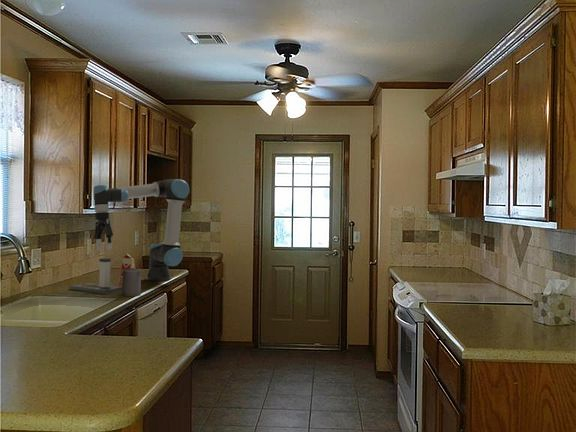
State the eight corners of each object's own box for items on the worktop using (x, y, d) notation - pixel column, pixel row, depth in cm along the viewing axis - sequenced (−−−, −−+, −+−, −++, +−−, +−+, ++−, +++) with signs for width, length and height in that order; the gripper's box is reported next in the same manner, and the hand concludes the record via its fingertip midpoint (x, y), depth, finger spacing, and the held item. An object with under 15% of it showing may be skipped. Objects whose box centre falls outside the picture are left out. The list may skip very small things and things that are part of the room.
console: (69, 289, 317) (69, 285, 317) (88, 286, 330) (88, 282, 330) (104, 294, 306) (104, 290, 306) (122, 290, 319) (122, 286, 319)
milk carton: (132, 287, 330) (133, 253, 329) (117, 287, 330) (117, 253, 329) (137, 285, 339) (138, 252, 338) (122, 284, 339) (122, 251, 338)
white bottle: (98, 286, 314) (99, 258, 314) (104, 285, 318) (104, 258, 318) (104, 287, 313) (105, 259, 312) (110, 286, 316) (110, 258, 316)
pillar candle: (119, 294, 308) (120, 266, 308) (136, 292, 314) (137, 265, 314) (126, 297, 301) (126, 269, 300) (143, 295, 307) (144, 268, 306)
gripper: (86, 214, 328) (89, 251, 326) (104, 210, 309) (107, 249, 308) (99, 214, 333) (101, 250, 331) (117, 210, 314) (120, 248, 313)
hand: (104, 249), depth 320 cm, fingers open, 13 cm apart
